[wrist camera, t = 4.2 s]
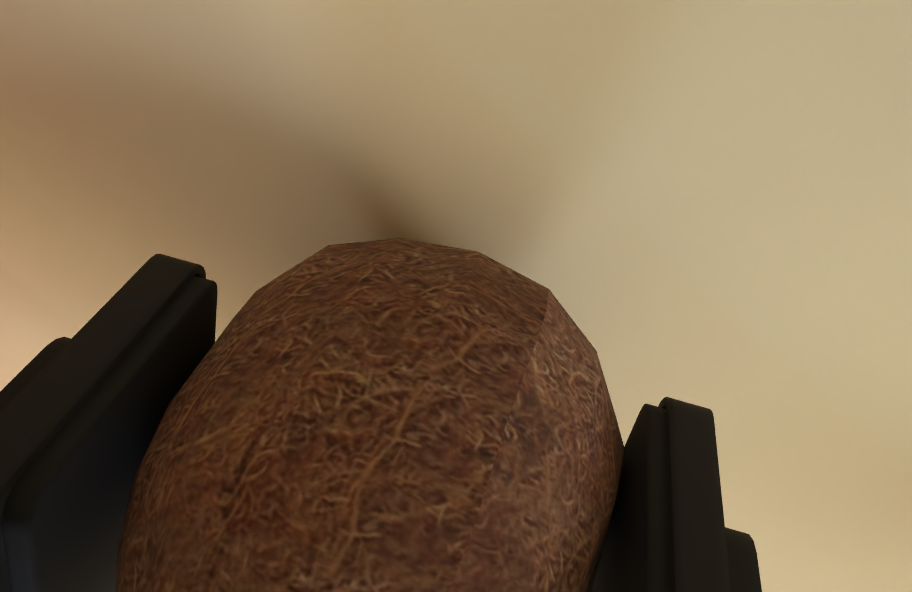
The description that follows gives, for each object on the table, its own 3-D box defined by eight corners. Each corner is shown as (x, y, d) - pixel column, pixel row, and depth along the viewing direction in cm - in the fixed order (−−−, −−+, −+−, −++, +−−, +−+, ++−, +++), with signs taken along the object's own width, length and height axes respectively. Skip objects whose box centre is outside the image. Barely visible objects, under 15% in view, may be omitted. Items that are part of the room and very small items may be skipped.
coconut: (315, 421, 15) (48, 965, 8) (258, 146, 12) (-208, 622, 5) (623, 442, 14) (602, 1082, 7) (635, 146, 11) (619, 732, 4)
